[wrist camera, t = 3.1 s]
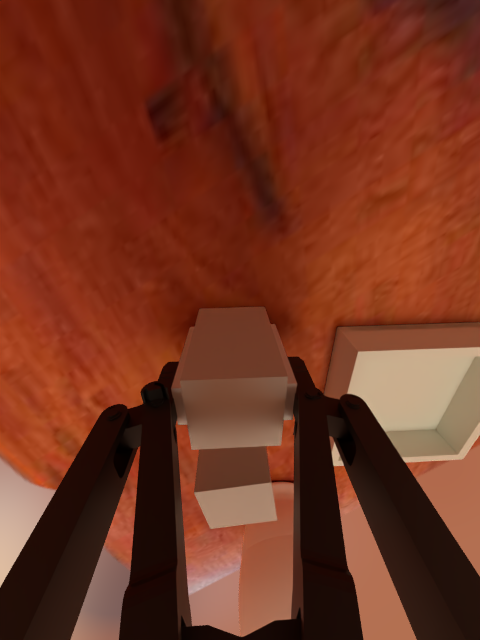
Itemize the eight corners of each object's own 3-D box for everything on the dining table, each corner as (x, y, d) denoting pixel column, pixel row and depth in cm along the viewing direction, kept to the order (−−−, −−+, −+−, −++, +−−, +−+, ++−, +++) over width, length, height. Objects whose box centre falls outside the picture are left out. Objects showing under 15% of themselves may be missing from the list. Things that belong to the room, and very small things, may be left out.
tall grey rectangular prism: (199, 308, 18) (179, 380, 11) (264, 306, 18) (287, 376, 11) (204, 361, 20) (191, 449, 13) (262, 359, 20) (280, 445, 13)
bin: (337, 326, 19) (358, 351, 16) (491, 321, 19) (541, 344, 16) (315, 433, 25) (328, 466, 22) (434, 427, 25) (462, 459, 22)
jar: (321, 472, 28) (403, 712, 15) (312, 515, 33) (368, 727, 20) (234, 477, 28) (239, 726, 15) (237, 520, 33) (243, 738, 20)
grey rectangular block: (205, 398, 22) (194, 492, 15) (257, 390, 22) (271, 482, 15) (215, 433, 24) (210, 528, 17) (263, 426, 24) (277, 520, 17)
